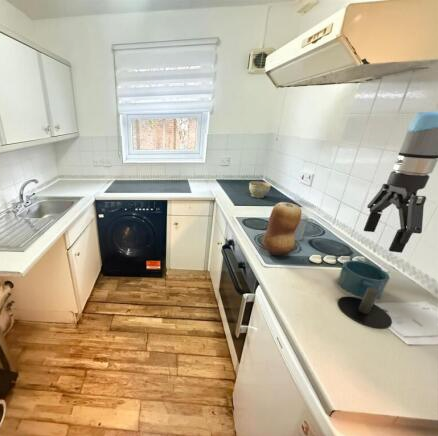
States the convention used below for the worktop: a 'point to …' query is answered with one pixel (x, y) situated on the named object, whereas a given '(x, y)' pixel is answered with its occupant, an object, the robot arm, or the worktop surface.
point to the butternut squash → (282, 228)
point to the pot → (362, 278)
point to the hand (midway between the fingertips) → (380, 240)
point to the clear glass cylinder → (301, 227)
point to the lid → (365, 310)
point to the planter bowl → (259, 189)
